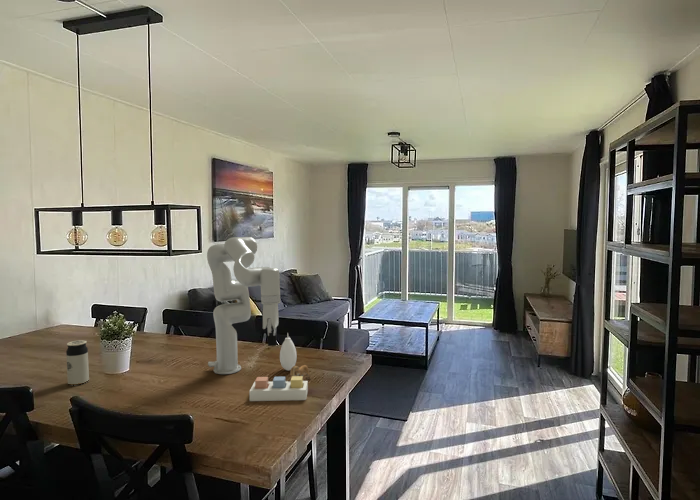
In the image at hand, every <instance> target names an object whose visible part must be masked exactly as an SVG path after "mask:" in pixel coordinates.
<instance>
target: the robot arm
mask: <svg viewBox="0 0 700 500" xmlns="http://www.w3.org/2000/svg"><path fill="white" fill-rule="evenodd" d="M257 251H258V243H257V241H256V240H255V239H254V238H253V237H250V236H242V237H241V236H239V237H238V236H235V237H230V238H228V239H226V240H225V242H224V243H218V244H217V243H216V244H213V245H211V246H209V248H208V249H207V251H206V258H207V264H208V266H209V268H210V271H211V275H212V282H213V283H212V284H213V285H212V286H213V293H214V297H215V300H216V301H218V302H229V301H236V302H234V303H233V302H231V303H225V304H224V303H223V304H220V305H218V306H216V307H214V309H213V313H212V314H213V321H214V326H215V340H216V341H215V343H216V350H215V351H216V360H215V361H208V362H207V366H208V367H209V368H213V372H214V374H218V375H231V374H235V373H239V372H240V371H241V370H242V366H241V364H239V363H238V361H239V360H238V359H239V358H238V356H239V355H238V333H237V329H236V328H234V326H233V324H238V323H243V322H247V321H249V320H250V318H251V315H252V308H251V302H250V299H251V298H250V292H249V287H250V288H251V287H258V286H259V287H260V300H261V301H260V303H261V305H262V329H263V330H266V328H267V345H268V346H271V347H272V346H274V347H276V346H277V344H278V343H277V342H278V341H277V337H278V336H277V327H278V326H279V322H280V321H279V318H280V317H279V304H281V283H280V279H281V278H280V270H279V269H278V268H277V267H270V266H258V267H257V266H256V267H250V266H252V264H253V263H254V261H255V254H256V253H257ZM228 262H229V263H230V262H231V263H232V262H234V263H233V267H232V269H233V274H234V277H235V279H234V280H233V279H232V272H231V269H230V267H228V265H227V264H225V263H228Z"/></svg>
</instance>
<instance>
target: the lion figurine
mask: <svg viewBox="0 0 700 500" xmlns="http://www.w3.org/2000/svg"><path fill="white" fill-rule="evenodd" d="M289 371H290V373H289V374H290V377H292V376H303V377H304V373H305V374H306V377H307V380H311V374H310V371H309V367H308V365H306V364H304V365H303V364H302V365H301V366H298V365H295V366H293V367H292V368H291V370H289Z"/></svg>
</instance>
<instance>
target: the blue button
mask: <svg viewBox="0 0 700 500" xmlns="http://www.w3.org/2000/svg"><path fill="white" fill-rule="evenodd" d="M272 381H273V388H285V386H286V381H287V380H286V376H274V377H273V379H272Z"/></svg>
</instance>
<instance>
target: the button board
mask: <svg viewBox="0 0 700 500" xmlns="http://www.w3.org/2000/svg"><path fill="white" fill-rule="evenodd" d="M308 383H309V381H308V380H303V387H302V388H291V380H290V381H288V380H286V386H285V388H273V380H272V381H268V388H267V389H255V381H254V382H253V384H252V386H251V388H250V389H249V394H248V395H249V402H267V401H268V402H269V401H272V402H275V401H276V402H277V401H280V402H281V401H306V400H307V396H308V392H309V388H308V387H309V384H308Z"/></svg>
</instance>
